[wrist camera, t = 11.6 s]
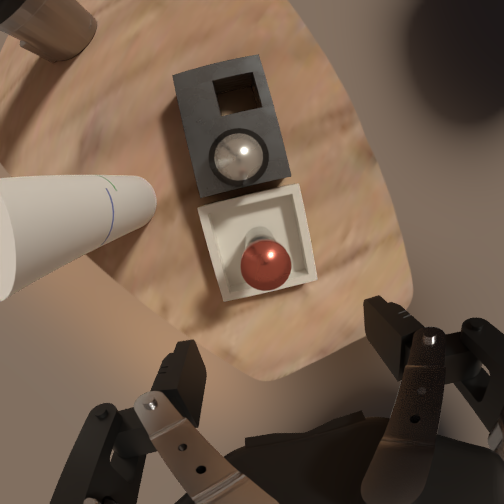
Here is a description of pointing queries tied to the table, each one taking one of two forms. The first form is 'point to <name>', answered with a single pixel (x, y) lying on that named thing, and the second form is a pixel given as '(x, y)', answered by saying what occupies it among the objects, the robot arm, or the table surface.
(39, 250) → the cylindrical container
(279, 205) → the dish
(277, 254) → the pin
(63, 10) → the robot arm
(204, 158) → the dark grey block
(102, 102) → the table surface
